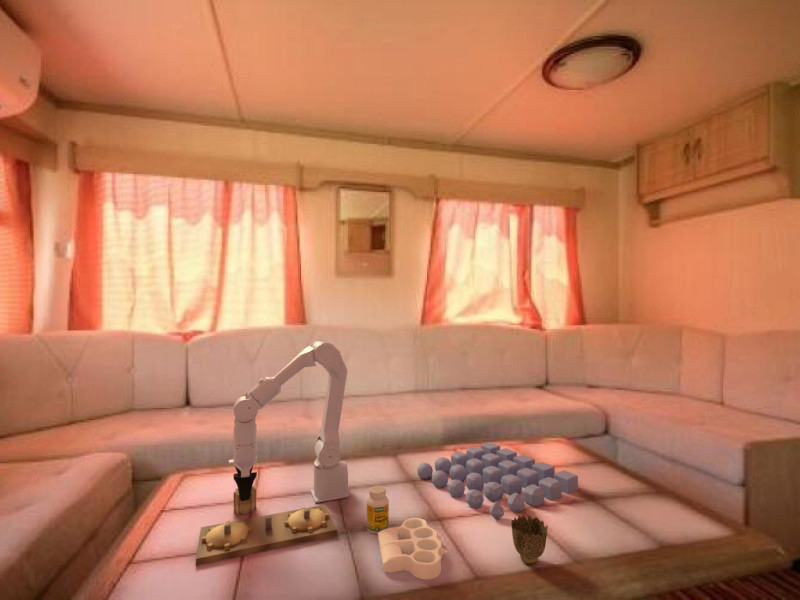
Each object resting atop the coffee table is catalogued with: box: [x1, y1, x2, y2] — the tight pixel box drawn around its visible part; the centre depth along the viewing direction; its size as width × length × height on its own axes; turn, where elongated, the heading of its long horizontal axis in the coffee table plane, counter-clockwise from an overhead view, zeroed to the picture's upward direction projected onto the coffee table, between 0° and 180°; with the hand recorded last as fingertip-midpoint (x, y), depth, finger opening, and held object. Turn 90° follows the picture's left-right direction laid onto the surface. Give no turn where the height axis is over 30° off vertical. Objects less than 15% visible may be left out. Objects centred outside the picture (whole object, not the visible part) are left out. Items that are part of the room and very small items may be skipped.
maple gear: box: [233, 485, 257, 515], centre depth 109 cm, size 6×6×5 cm
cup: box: [510, 515, 548, 566], centre depth 87 cm, size 8×7×8 cm
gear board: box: [195, 504, 338, 567], centre depth 97 cm, size 30×13×4 cm, turn 112°
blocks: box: [416, 442, 579, 520], centre depth 126 cm, size 35×34×5 cm
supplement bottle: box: [366, 485, 390, 535], centre depth 100 cm, size 5×5×10 cm
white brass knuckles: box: [377, 517, 449, 580], centre depth 90 cm, size 3×18×15 cm
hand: (244, 493), depth 109 cm, fingers open, 7 cm apart
